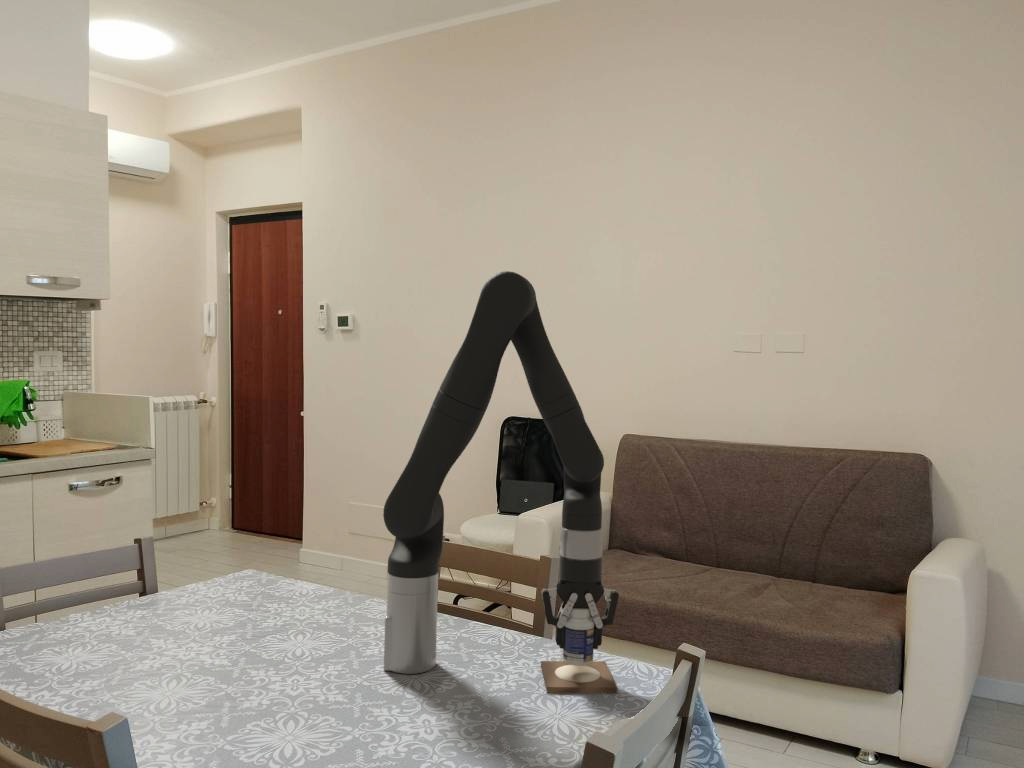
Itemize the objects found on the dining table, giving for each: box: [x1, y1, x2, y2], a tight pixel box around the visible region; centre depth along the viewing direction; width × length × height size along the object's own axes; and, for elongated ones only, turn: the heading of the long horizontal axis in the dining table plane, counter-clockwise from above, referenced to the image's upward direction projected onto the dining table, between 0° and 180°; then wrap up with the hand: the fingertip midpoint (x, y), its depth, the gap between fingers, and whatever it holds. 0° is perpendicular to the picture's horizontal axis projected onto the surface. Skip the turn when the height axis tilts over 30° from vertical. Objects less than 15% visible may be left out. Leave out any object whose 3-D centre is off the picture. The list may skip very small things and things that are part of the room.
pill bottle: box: [562, 609, 594, 666], centre depth 142 cm, size 5×5×10 cm
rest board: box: [540, 660, 618, 694], centre depth 142 cm, size 12×12×1 cm
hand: (578, 647), depth 142 cm, fingers closed on pill bottle, 5 cm apart
